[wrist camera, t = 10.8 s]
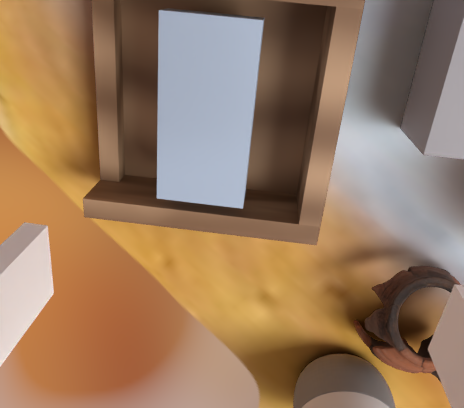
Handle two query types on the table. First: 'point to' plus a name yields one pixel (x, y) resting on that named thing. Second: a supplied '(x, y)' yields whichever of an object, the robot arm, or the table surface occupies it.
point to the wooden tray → (264, 122)
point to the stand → (439, 85)
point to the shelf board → (206, 105)
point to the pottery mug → (387, 319)
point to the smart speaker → (341, 384)
